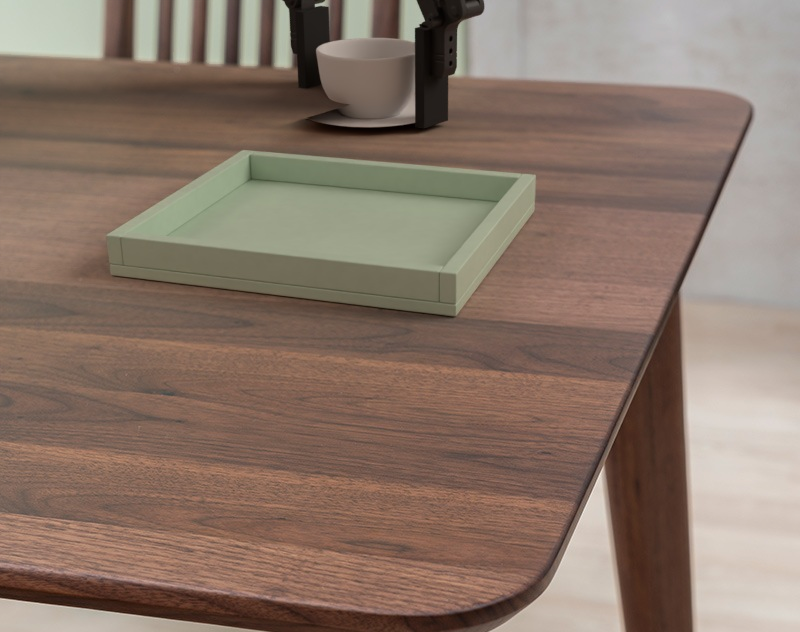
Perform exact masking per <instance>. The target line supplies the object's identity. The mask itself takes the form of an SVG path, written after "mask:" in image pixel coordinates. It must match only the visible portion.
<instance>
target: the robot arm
mask: <svg viewBox="0 0 800 632" xmlns="http://www.w3.org/2000/svg"><path fill="white" fill-rule="evenodd" d="M282 1H283V2H284V5H285V7H287V8H288V13H289V14H288V17H289V32H290V33H289V37H290V48H291V51H292V54H293V55H296V64H297V65H296V66H297V87H298V89H299V88H300V89H304V90H308V89H311V88H315V87H319V86H322V83H321V79H320V74H319V67H318V61H317V55H316V49H317V48H318V47H319V46H320V45H322V44H325V43H328V42H331V36H330V35H331V33H330V32H331V31H330V7H329V6H325V5H319V4H322V3H325V1H326V0H282ZM416 4H417V6H418V7H419V10H420V12H421V15H422V17H423V20H424V21H423V22H421V23H418V26H417V27H414V42H415V94H414V95H415V123H414V127H415V128H419V129H422V130H423V129H427V128H430V127H433V126H435V125H439V124H441V123H445V122H448V121H449V76H453V75H455V74H456V71H457V68H458V30H459V29H458V28H459V25H460V24H461V23H462V22H463V21H465V20H469V19H472V18H474V17H478V16H481V15H482V14H483V13H484V12H485V1H484V0H416ZM316 5H318V6H316Z"/></svg>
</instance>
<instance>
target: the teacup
mask: <svg viewBox="0 0 800 632" xmlns="http://www.w3.org/2000/svg"><path fill="white" fill-rule="evenodd" d="M316 55H317V61H318V67H319V74H320V79H321V83H322V85H321V86H322V89H323V91H324V93H325V94H326V96H327V98H328V99H329V100H331V101H333V102H335V103H339V104H343V105H344V106H341V107H337V108H334V109H331V110H330V109H329V110H328V111H324V112H321V113H317V114H314V115H312V116H308V117H306V119H307V120H311V121H313V122H317V123H321V124H324V125H330V126H337V127H347V128H386V127H387V128H388V127H397V126H398V127H399V126H404V125H411V124H415V41H413V40H407V39H401V38H392V37H391V38H390V37H358V38H357V37H355V38H354V37H353V38H345V39H338V40H333V41H330V42H328V43H325V44H322V45H320V46H319V47H318V48H317V49H316Z"/></svg>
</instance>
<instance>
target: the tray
mask: <svg viewBox="0 0 800 632" xmlns="http://www.w3.org/2000/svg"><path fill="white" fill-rule="evenodd" d="M536 185H537V175H536V174H531V173H518V172H508V171H495V170H482V169H474V168H473V169H470V168H462V167H461V168H459V167H450V166H449V167H448V166H447V167H446V166H436V165H427V164H426V165H425V164H412V163H401V162H388V161H379V160H378V161H376V160H365V159H356V158H355V159H352V158H344V157H343V158H341V157H329V156H319V155H318V156H317V155H307V154H297V153H296V154H295V153H285V152H284V153H282V152H274V151H273V152H271V151H262V150H261V151H259V150H250V149H249V150H247V149H242V150H240V151H239V152H237V153H235V154H234V155H232V156H231V157H229V158H228V159H226V160H224V161H222V162H221V163H219V164H217V165H216V166H215V167H213V168H211V169H209V170H208V171H206V172H204V173H203V174H201V175H200V176H199V177H197V178H196V179H194V180H192V181H190V182H189V183H187V184H186V185H184V186H182V187H181V188H179V189H178V190H176V191H174V192H173V193H171V194H170V195H168V196H166V197H165V198H163V199H162V200H160V201H158V202H157V203H155V204H153V205H152V206H150V207H149V208H147V209H146V210H144V211H142V212H141V213H139V214H137V215H136V216H134V217H132V218H131V219H130V220H128V221H126V222H125V223H123V224H121V225H120V226H118V227H117V228H115V229H113V230H112V231H110V232H108V233H107V234H106V235H105V238H106V239H105V240H106V244H107V245H106V247H107V255H108V262H109V271H110V275H111V276H114V277H124V278H132V279H139V280H148V281H157V282H164V283H173V284H181V285H189V286H199V287H207V288H215V289H222V290H223V289H224V290H231V291H240V292H247V293H248V292H249V293H256V294H264V295H273V296H280V297H281V296H282V297H288V298H289V297H290V298H297V299H307V300H314V301H323V302H331V303H338V304H339V303H340V304H347V305H354V306H355V305H356V306H364V307H371V308H372V307H373V308H381V309H389V310H395V311H396V310H397V311H405V312H414V313H421V314H423V313H424V314H430V315H439V316H448V317H457V316H458V315H459V313H460V311H461V310H462V309H463V308H464V306H465V305H466V304H467V303H468V301H469V300H470V298H471V297H472V296H473V294H474V293H475V291H476V290H477V289H478V287H479V286H480V285H481V284H482V282H483V281H484V280H485V278H486V277H487V275H488V274H489V273H490V271H491V270H492V269H493V268H494V266H495V265H496V263H497V262H498V261H499V260H500V258H501V257H502V255H503V254H504V253H505V251H506V250H507V249H508V247H509V246H510V244H511V243H513V241H514V239H515V238H516V237H517V236H518V234H519V233H520V231H522V228H523V227H524V226H525V225H526V224H527V222H528V221H529V219H530V218H531V216H532V215H533V214H534V212H535V211H536V202H535V201H536V190H537V189H536Z"/></svg>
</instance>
